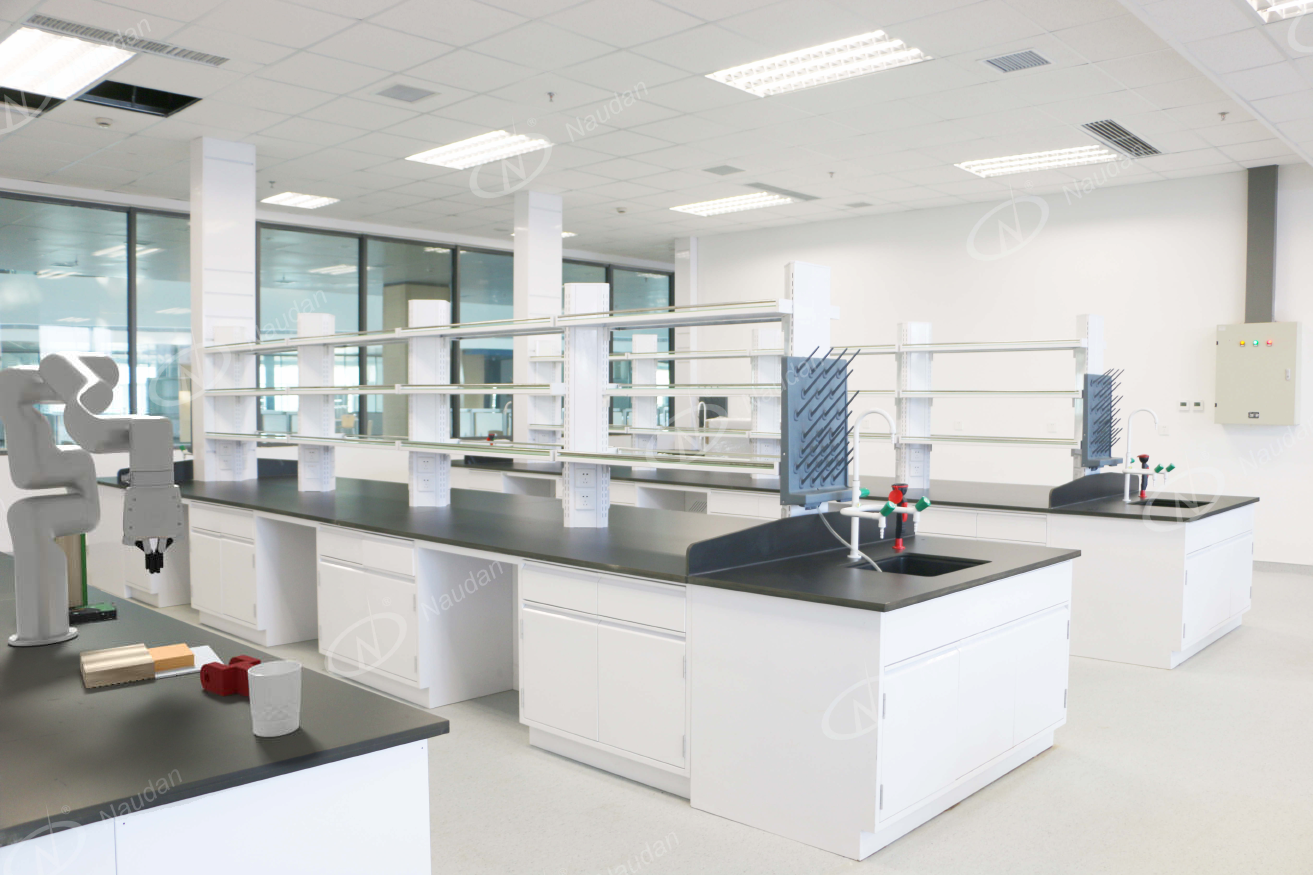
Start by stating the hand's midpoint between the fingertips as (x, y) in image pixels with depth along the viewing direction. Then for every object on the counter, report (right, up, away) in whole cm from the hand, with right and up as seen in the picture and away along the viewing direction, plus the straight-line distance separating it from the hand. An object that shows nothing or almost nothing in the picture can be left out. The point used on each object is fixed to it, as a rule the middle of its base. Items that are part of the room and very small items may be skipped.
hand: (154, 572), depth 176 cm
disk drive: (-40, -18, +40) cm, 59 cm away
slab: (+2, -18, +2) cm, 18 cm away
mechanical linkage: (+24, -20, -14) cm, 34 cm away
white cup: (+38, -20, -33) cm, 55 cm away
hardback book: (-53, -17, +53) cm, 76 cm away
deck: (-5, -19, -3) cm, 20 cm away
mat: (+4, -19, +3) cm, 19 cm away
